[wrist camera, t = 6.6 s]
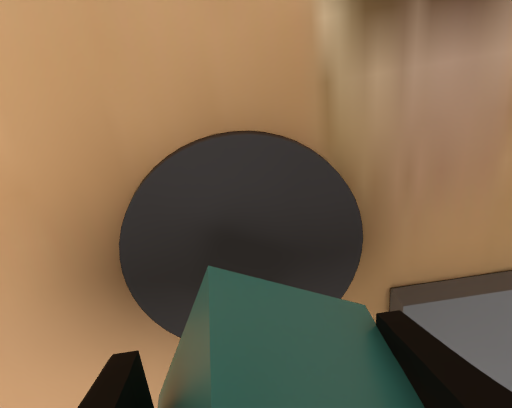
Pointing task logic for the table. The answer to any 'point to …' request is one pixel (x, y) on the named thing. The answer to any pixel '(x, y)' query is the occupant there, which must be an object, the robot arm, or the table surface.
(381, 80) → the table surface
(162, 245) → the coaster
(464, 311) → the post base
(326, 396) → the teal cube
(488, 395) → the robot arm
